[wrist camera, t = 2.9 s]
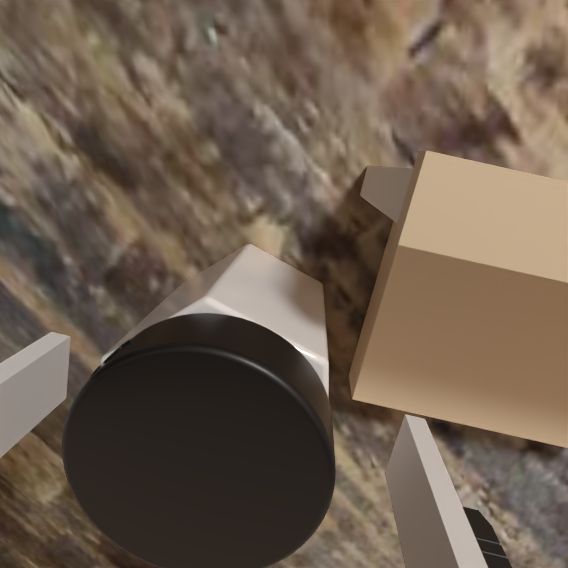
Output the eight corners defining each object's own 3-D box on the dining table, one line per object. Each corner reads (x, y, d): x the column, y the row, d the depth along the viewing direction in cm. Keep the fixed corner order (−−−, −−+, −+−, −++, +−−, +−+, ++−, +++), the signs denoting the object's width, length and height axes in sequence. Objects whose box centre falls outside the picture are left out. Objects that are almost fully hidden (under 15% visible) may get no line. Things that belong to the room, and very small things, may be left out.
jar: (174, 243, 22) (28, 329, 11) (325, 241, 22) (337, 330, 10) (189, 390, 25) (82, 584, 14) (324, 392, 24) (334, 597, 13)
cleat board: (314, 367, 24) (314, 524, 14) (370, 156, 20) (426, 150, 10) (620, 436, 24) (854, 647, 13) (728, 235, 20) (1155, 312, 10)
